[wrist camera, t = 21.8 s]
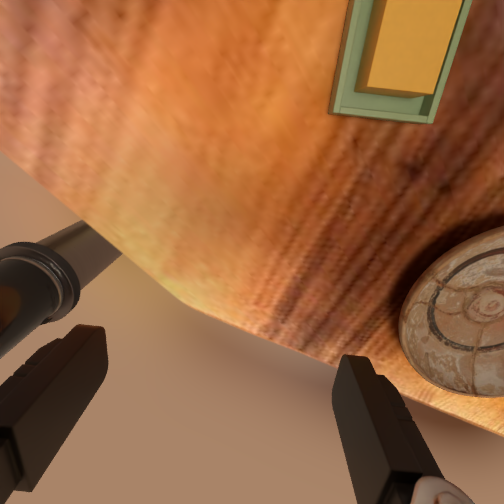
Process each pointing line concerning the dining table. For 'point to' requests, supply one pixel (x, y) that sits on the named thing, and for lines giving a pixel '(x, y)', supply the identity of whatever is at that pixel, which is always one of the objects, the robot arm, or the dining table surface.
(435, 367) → the ceramic bowl
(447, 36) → the block
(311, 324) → the dining table surface
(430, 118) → the tray
